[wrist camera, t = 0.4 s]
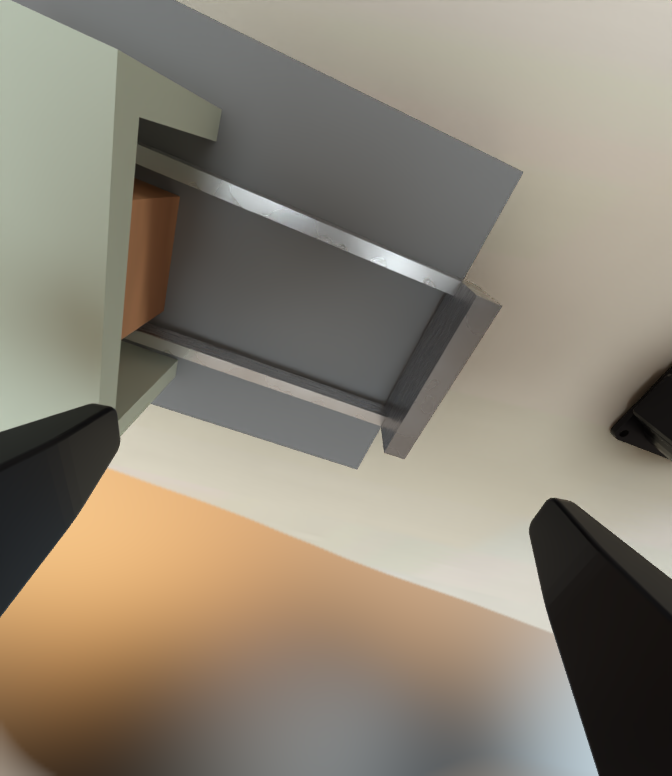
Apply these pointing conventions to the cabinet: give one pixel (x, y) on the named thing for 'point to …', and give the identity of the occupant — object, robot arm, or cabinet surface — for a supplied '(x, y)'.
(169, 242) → the terracotta block
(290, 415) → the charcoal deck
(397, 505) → the cabinet surface
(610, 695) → the robot arm
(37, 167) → the pale green tunnel
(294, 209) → the silver flat rectangular frame
